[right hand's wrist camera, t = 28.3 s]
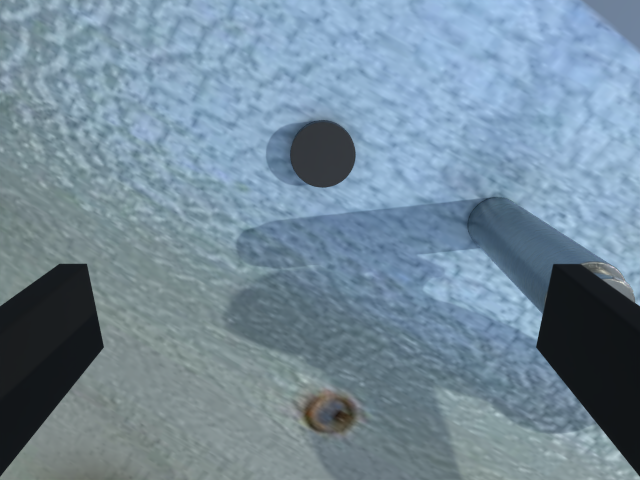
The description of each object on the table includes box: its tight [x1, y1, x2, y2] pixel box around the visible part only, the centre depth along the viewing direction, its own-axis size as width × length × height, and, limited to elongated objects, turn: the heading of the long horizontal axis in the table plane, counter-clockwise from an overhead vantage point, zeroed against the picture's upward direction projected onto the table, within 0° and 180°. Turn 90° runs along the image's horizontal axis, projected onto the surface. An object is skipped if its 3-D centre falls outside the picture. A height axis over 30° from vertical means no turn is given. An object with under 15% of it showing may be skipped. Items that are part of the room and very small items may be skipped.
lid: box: [290, 120, 355, 187], centre depth 37 cm, size 6×6×2 cm
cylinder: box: [468, 197, 635, 314], centre depth 33 cm, size 5×5×16 cm
